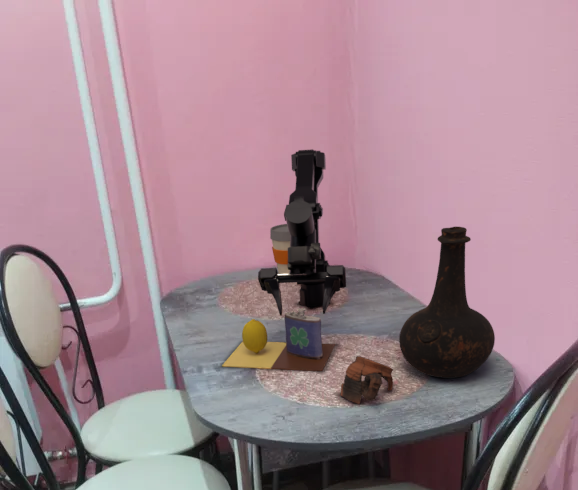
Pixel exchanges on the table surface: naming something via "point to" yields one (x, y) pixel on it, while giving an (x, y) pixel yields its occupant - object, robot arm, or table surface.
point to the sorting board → (276, 358)
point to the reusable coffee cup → (280, 247)
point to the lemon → (254, 336)
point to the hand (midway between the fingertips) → (302, 313)
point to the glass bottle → (448, 320)
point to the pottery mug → (371, 384)
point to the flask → (303, 335)
